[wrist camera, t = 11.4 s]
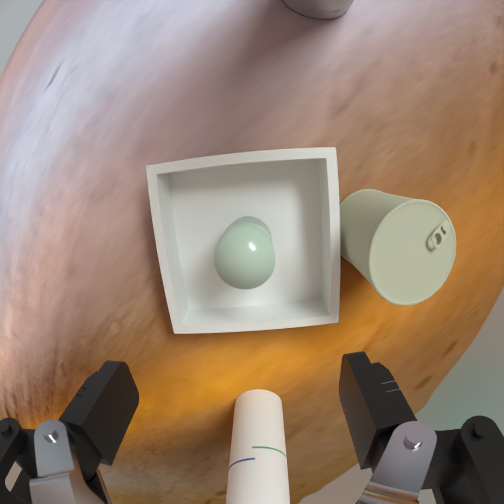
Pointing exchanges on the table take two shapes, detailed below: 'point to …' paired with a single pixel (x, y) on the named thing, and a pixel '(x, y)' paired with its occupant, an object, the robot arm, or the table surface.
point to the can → (397, 244)
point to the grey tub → (255, 205)
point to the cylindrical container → (258, 451)
